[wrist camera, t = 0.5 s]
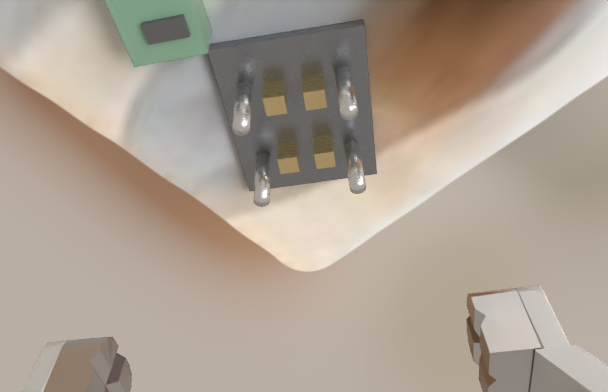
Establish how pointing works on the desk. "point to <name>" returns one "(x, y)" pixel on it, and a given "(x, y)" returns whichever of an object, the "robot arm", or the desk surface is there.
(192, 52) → the green rectangular block
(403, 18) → the desk surface
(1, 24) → the desk surface
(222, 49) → the chassis
